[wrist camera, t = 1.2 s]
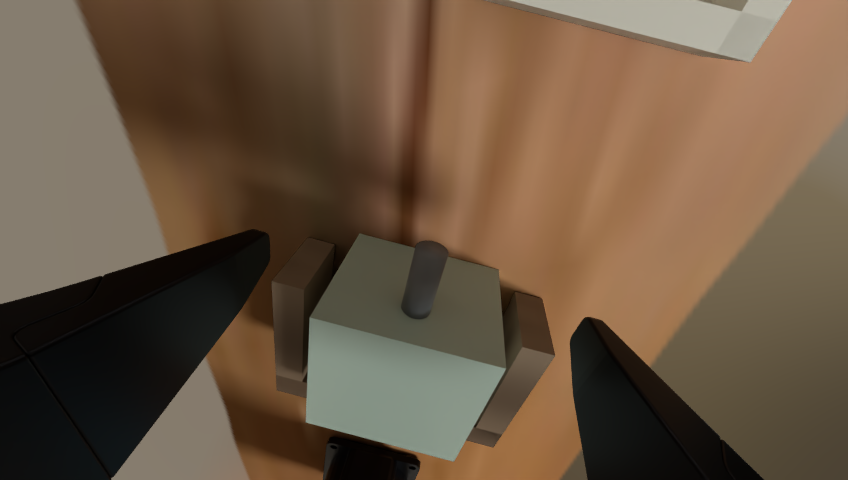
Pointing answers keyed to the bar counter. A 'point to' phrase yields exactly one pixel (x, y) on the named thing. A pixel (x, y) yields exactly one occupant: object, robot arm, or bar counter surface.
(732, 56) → the tray
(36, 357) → the robot arm
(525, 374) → the dock
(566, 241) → the bar counter surface
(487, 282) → the block with peg handle
